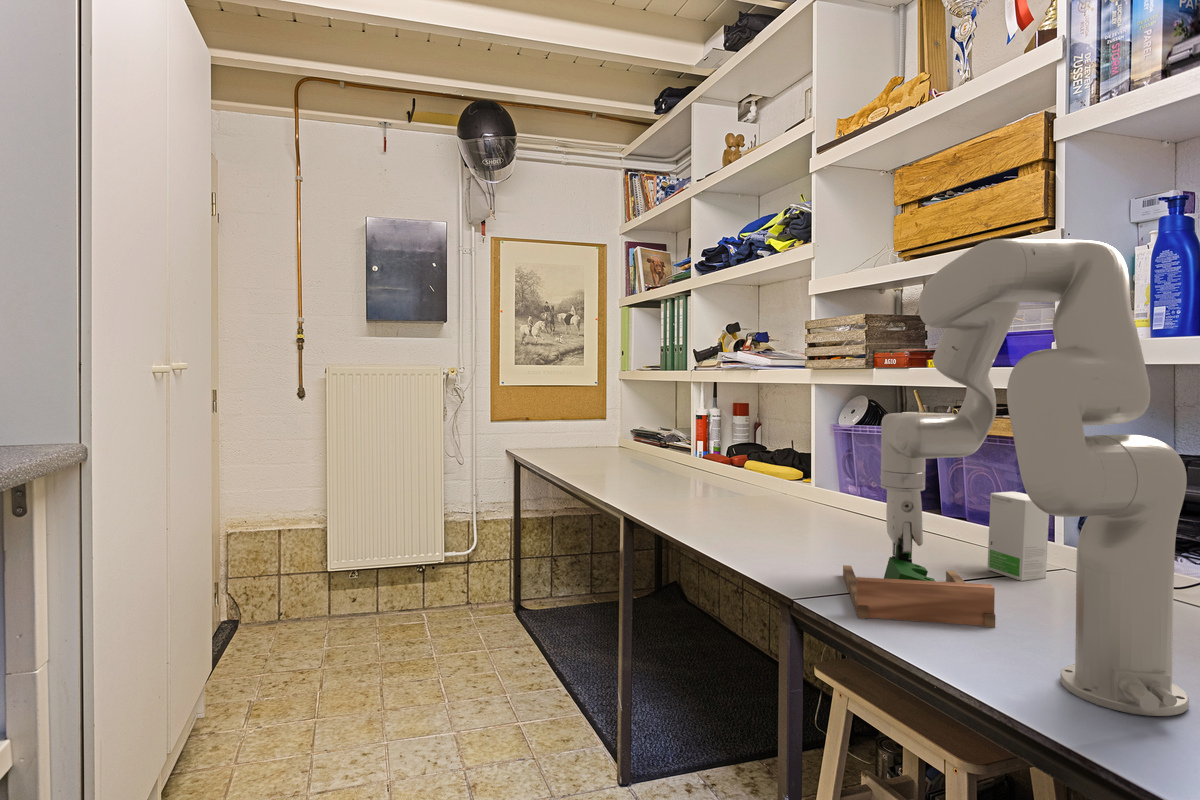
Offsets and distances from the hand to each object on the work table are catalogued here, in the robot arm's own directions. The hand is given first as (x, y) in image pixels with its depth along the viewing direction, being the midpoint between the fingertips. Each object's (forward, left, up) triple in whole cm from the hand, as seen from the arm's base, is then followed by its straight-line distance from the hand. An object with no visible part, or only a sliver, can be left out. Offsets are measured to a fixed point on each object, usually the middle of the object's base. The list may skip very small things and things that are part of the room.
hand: (901, 578), depth 131 cm
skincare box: (+13, -23, -2) cm, 26 cm away
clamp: (-8, 0, -2) cm, 8 cm away
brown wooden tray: (-7, 0, -1) cm, 8 cm away
